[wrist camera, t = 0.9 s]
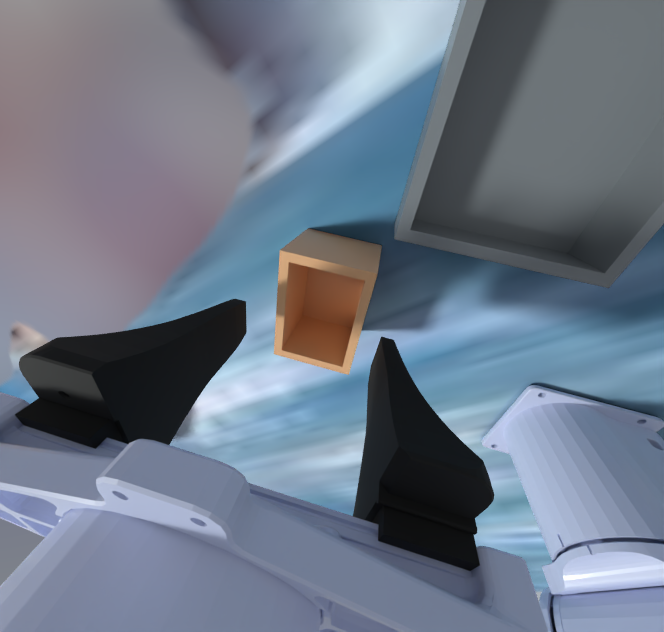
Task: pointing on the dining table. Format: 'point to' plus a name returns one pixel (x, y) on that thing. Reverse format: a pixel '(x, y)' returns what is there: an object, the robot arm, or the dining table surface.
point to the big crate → (544, 138)
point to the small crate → (324, 298)
